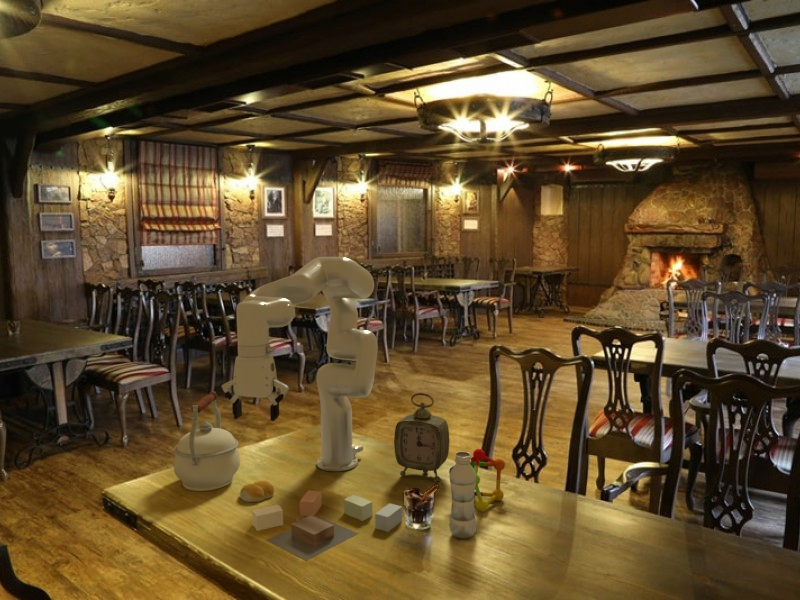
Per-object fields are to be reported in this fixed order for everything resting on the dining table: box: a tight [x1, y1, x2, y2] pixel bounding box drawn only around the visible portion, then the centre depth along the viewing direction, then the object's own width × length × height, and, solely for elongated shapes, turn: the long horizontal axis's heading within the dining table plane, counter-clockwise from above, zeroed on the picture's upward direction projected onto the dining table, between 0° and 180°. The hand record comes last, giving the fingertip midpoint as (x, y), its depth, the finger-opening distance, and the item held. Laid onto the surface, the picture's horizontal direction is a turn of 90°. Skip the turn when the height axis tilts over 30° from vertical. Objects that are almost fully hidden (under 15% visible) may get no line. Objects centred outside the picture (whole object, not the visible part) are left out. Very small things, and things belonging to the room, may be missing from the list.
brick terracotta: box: [299, 490, 323, 517], centre depth 162 cm, size 6×4×5 cm, turn 169°
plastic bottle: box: [448, 451, 478, 540], centre depth 150 cm, size 6×7×20 cm
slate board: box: [266, 515, 359, 562], centre depth 149 cm, size 16×14×1 cm
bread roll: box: [239, 480, 275, 503], centre depth 174 cm, size 8×9×4 cm
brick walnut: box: [291, 515, 334, 547], centre depth 148 cm, size 6×8×3 cm
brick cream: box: [251, 504, 284, 532], centre depth 155 cm, size 6×4×5 cm, turn 119°
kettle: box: [173, 391, 241, 492], centre depth 184 cm, size 25×18×25 cm
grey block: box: [374, 502, 403, 533], centre depth 154 cm, size 6×4×5 cm, turn 149°
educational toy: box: [448, 448, 506, 512], centre depth 168 cm, size 16×13×15 cm
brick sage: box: [343, 494, 373, 522], centre depth 160 cm, size 6×4×5 cm, turn 49°
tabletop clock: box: [393, 392, 451, 483], centre depth 186 cm, size 14×9×25 cm, turn 67°
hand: (256, 418), depth 159 cm, fingers open, 9 cm apart
